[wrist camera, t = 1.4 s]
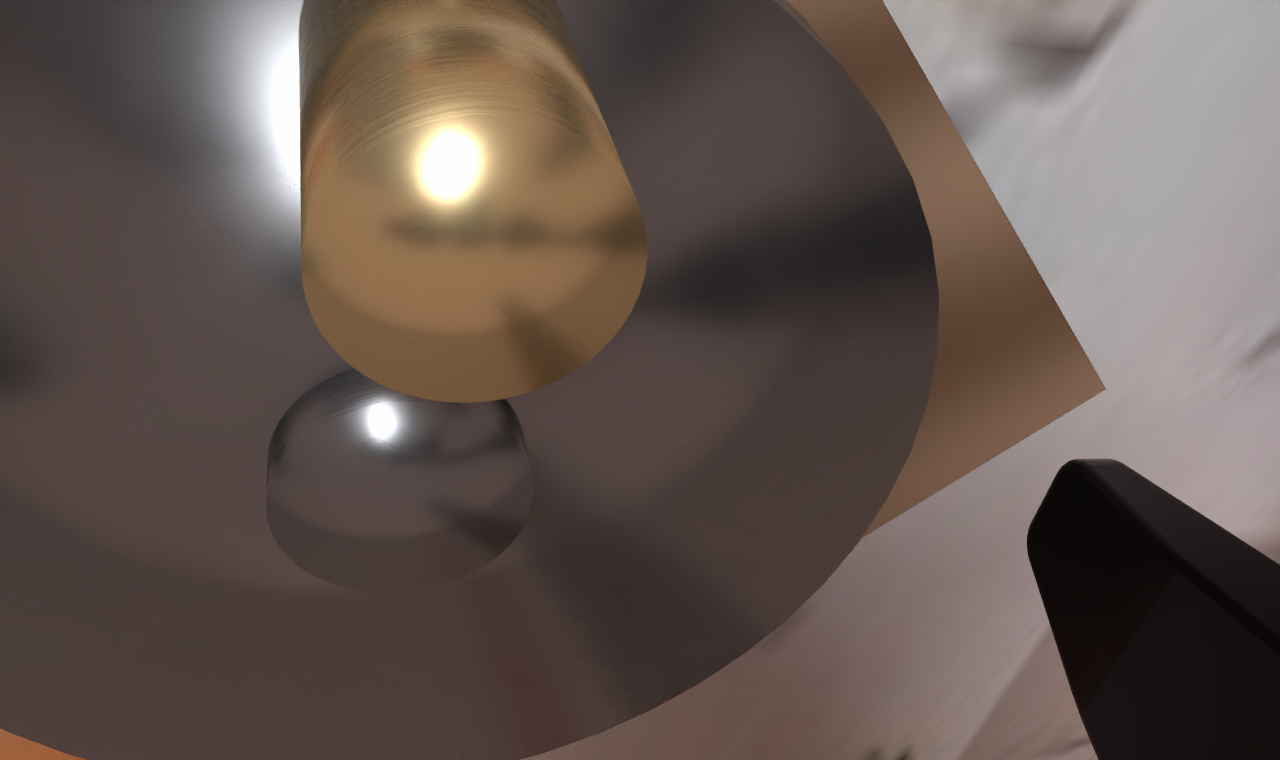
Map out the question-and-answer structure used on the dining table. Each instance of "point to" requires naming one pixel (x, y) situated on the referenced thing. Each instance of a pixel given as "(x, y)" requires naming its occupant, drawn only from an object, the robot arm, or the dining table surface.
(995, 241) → the wheel base
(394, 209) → the handwheel
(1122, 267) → the dining table surface
